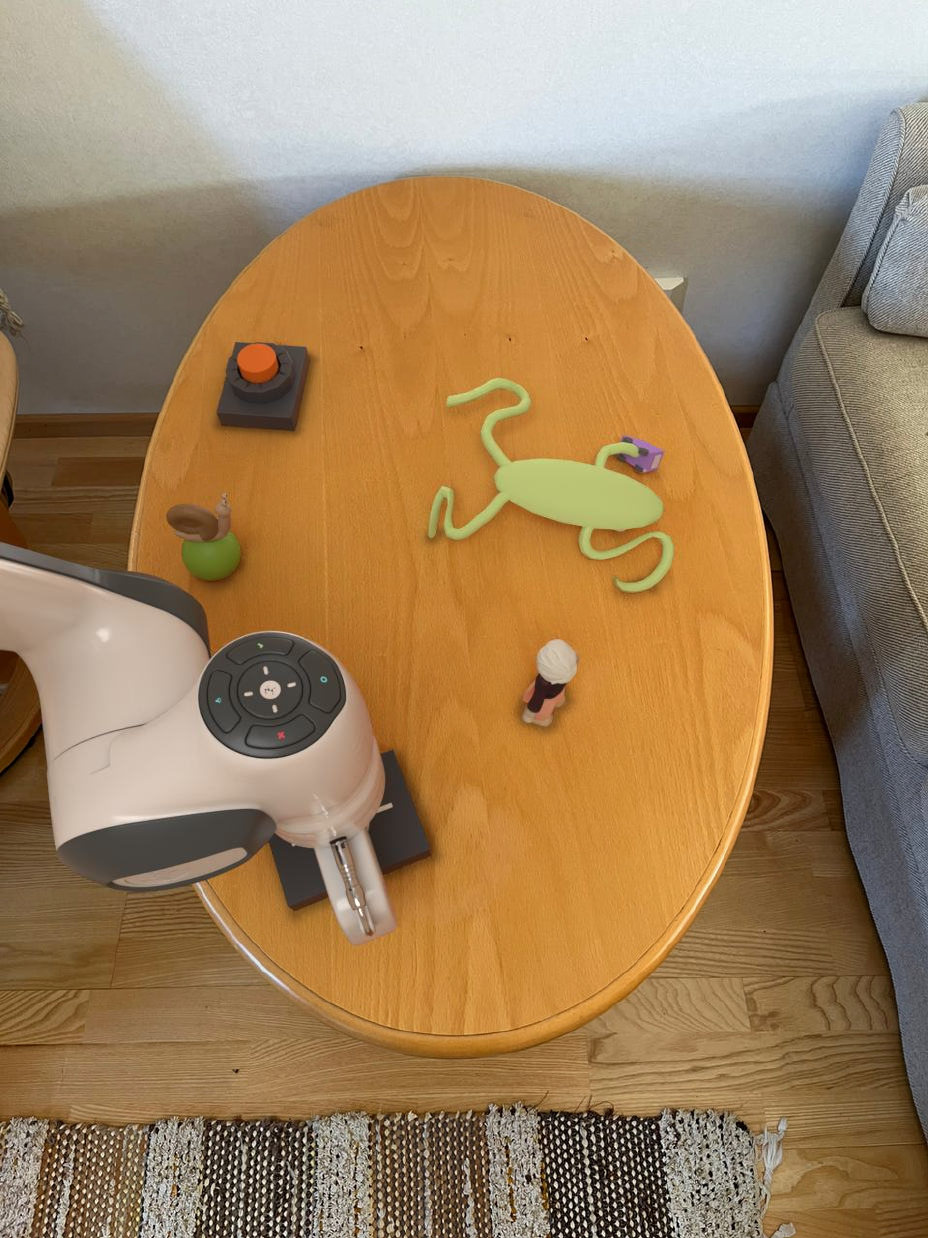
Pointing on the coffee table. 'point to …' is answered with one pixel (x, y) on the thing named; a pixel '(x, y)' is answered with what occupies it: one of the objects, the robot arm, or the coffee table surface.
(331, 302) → the coffee table surface
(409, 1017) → the coffee table surface
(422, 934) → the coffee table surface
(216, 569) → the snail figurine
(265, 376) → the button
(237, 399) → the button base
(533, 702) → the grandmother figurine
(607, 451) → the figurine
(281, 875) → the dial panel
